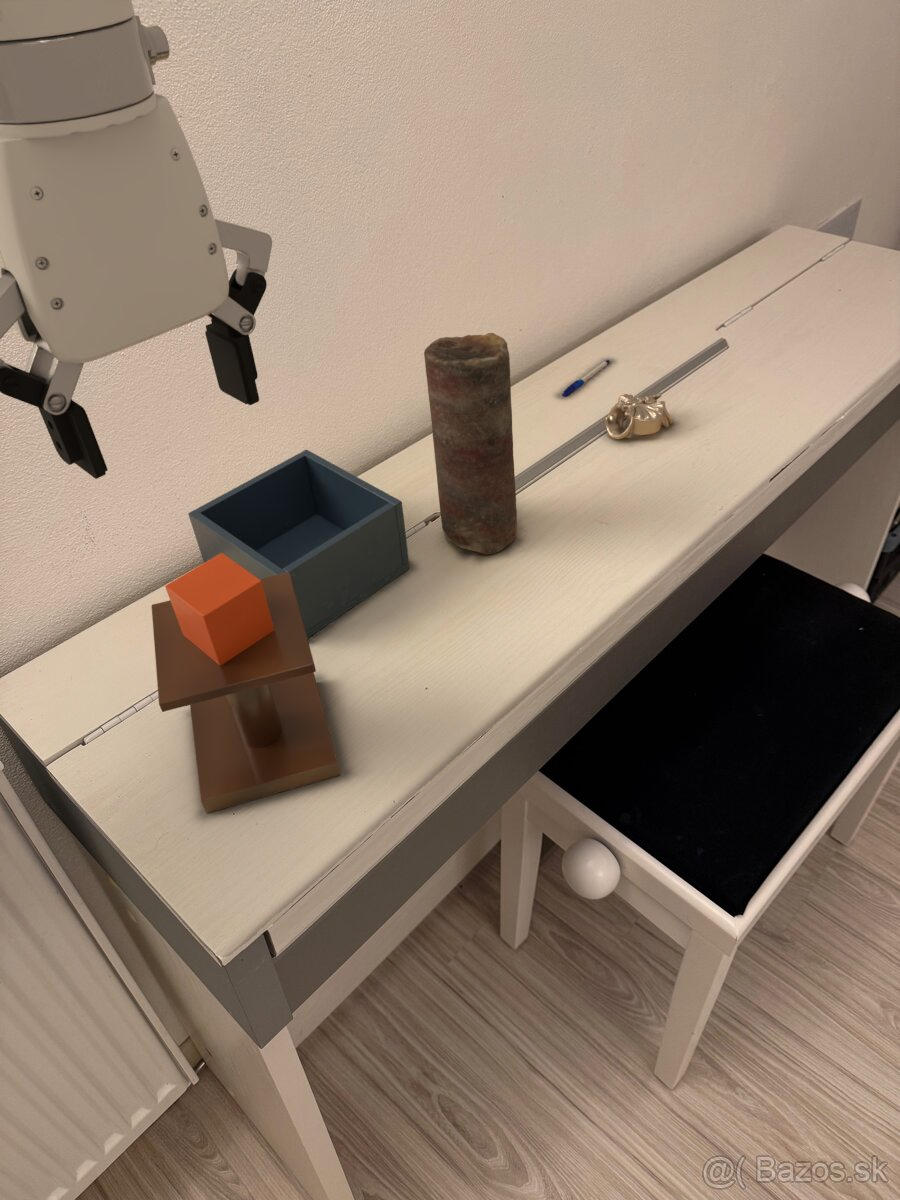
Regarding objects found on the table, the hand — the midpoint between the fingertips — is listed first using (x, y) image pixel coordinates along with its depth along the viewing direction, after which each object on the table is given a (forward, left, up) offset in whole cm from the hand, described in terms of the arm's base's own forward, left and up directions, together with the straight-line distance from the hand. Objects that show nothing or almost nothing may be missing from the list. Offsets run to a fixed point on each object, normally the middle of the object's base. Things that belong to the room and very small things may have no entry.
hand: (168, 430), depth 48 cm
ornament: (+47, +31, -28) cm, 63 cm away
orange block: (0, 0, -16) cm, 16 cm away
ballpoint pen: (+46, +44, -28) cm, 70 cm away
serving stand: (0, 0, -28) cm, 28 cm away
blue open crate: (+7, +19, -28) cm, 35 cm away
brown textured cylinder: (+24, +19, -28) cm, 42 cm away
